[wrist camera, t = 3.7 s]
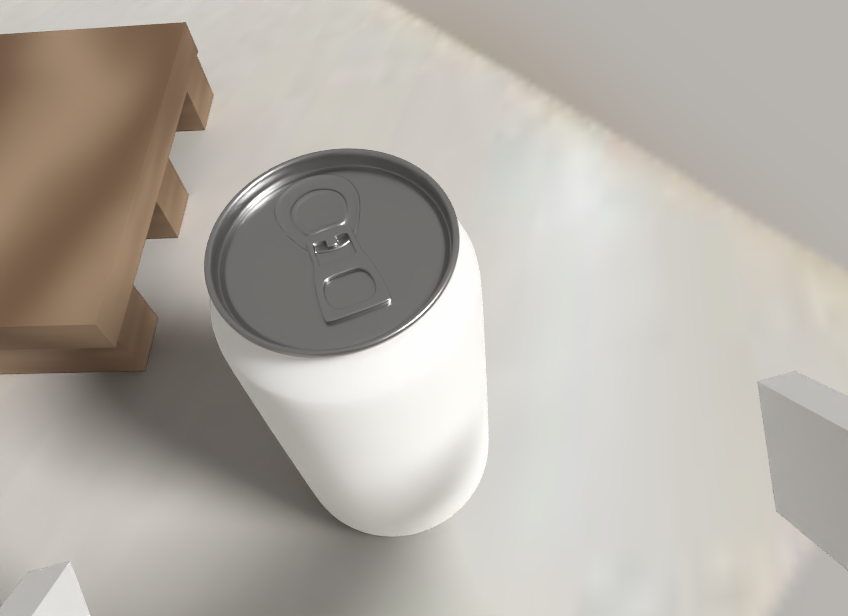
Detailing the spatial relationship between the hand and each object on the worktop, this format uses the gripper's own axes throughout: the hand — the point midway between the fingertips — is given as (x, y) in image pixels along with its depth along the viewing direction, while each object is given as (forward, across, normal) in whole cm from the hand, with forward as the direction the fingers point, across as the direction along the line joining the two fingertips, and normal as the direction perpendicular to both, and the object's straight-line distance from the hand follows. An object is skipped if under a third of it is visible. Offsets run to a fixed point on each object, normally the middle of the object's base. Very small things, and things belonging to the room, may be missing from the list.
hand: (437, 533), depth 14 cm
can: (+12, -1, -3) cm, 13 cm away
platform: (+23, -16, +8) cm, 29 cm away
